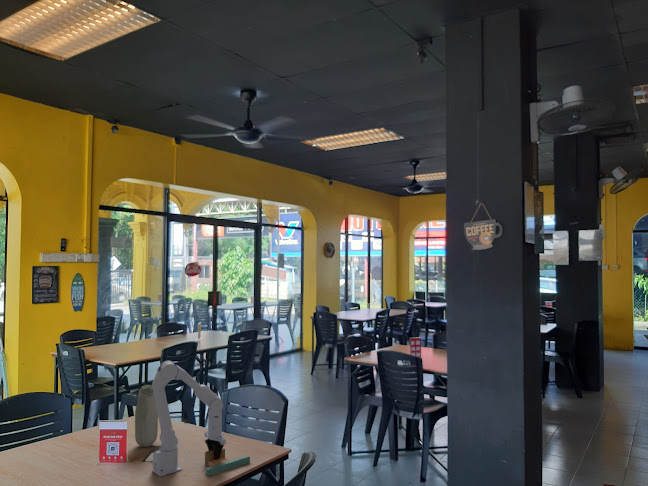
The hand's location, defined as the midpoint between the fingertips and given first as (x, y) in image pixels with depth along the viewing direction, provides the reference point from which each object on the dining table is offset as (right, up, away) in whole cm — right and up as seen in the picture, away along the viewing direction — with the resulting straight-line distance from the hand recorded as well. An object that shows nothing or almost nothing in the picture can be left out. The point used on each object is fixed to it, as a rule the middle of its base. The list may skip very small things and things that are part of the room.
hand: (214, 457), depth 211 cm
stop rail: (+7, -2, -6) cm, 10 cm away
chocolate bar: (-28, -4, +10) cm, 30 cm away
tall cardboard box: (0, -2, 0) cm, 2 cm away
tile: (+3, -2, -4) cm, 5 cm away
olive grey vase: (-37, -4, +21) cm, 42 cm away
